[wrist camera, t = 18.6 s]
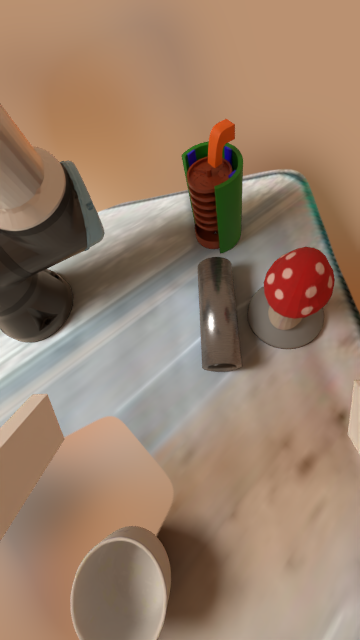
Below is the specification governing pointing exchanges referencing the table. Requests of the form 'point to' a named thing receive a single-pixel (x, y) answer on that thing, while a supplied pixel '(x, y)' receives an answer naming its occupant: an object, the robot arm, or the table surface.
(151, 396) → the table surface
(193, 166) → the motor
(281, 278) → the decorative mushroom
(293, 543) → the table surface
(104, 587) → the teacup
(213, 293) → the metal pipe
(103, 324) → the table surface
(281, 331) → the rubber mat
